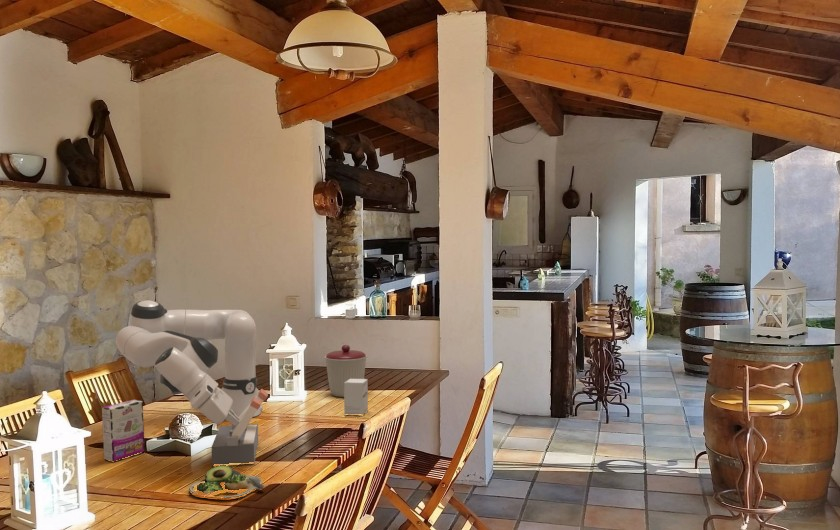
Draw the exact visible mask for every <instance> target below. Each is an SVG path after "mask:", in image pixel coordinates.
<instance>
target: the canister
mask: <svg viewBox="0 0 840 530" xmlns="http://www.w3.org/2000/svg"><path fill="white" fill-rule="evenodd" d="M323 358H324V359H325V363H326V373H327V380H328V388H329V392H330V393H331V395H332V396H334V397H339V398H344V382H346V381H347V380H349V379H365V370H366V364H367V363H366V359H367V358H368V354H366V353H365V352H363V351H359V350H352V349H351V346H350V345H348V344H344V345H342V346H341V350H335V351H331V352H329V353H327V354H326V355H324V357H323Z"/></svg>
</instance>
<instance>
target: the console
mask: <svg viewBox="0 0 840 530" xmlns="http://www.w3.org/2000/svg"><path fill="white" fill-rule="evenodd" d="M236 426H237V425H236ZM236 426H234V425H233V424H232V423H231V425H220V426H219V428H218V430H217V432H216V435H215V438H214V440H213V442H212V444H211V466H212V465H214V464H229V463H249V462H254V461H255V462H256V458H255V455H256V456H257V452H256V450H257V451H258V447H257V445H259V424H258V423H255V424H248V426H247V427H246V429H245V431H244V432H243V434H242V435H241V437H240V439H239V440H238V436H233V437H232V433H233V431H234V429H235V427H236Z"/></svg>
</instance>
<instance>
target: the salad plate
mask: <svg viewBox="0 0 840 530" xmlns="http://www.w3.org/2000/svg"><path fill="white" fill-rule="evenodd" d="M202 481H205V483H200V482H202ZM221 482H225V484H224V485H225V489H228V490H239V489H248V490H247V491H245V492H243V493H241V494H237V495H236V494H234V495H233V494H232V495H224V496H220V495H219V497H224V498H225V497H226V498H231V497H239V496H242V495H244V494H247V493H248V492H250V491H251V490H255V489H257V490H263V489H265V488H266V486H265V485H264V484H262V483H263V482H262V479H261V477H259V476H255V475H247V474H246V475H245V474H243V473H241V472H239V471H237V470H235V469H233V468H232V466H226V465H220V466H216V467H211V468H210V469H209V470H207V471H206V473H205V475H204V479H203V480H201V481H198V482H196V483H194V484H191V486H189V488H188V491H189V490H190V491H191V492H192V493H195V491H193V488H194V486H195V485H197V484H198V483H200V484H199V485H197V490H199V491H202V492H203V493H211V492H215V491H218V490H223V488H222V486H221V485H220V483H221ZM197 494H198V493H197Z"/></svg>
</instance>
